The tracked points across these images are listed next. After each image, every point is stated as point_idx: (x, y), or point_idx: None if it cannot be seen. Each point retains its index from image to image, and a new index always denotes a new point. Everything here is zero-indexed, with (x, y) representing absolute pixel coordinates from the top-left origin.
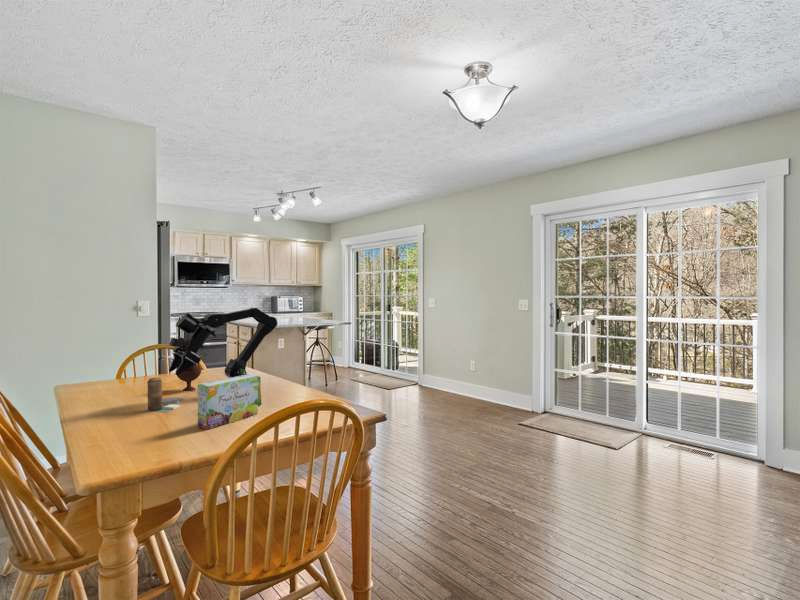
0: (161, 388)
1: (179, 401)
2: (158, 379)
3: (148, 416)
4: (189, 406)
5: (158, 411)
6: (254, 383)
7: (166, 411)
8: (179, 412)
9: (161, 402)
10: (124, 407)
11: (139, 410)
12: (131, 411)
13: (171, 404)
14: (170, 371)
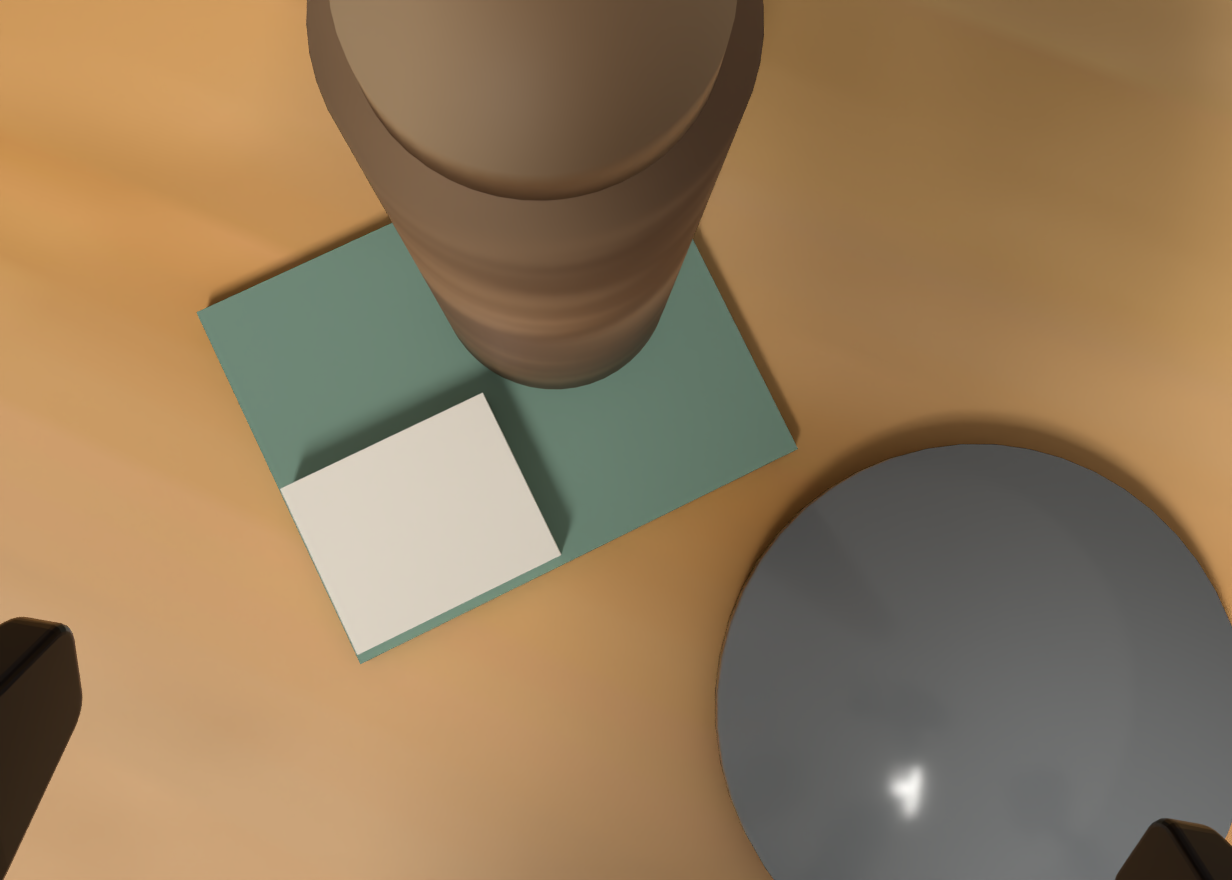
0: (422, 257)
1: (750, 819)
2: (339, 40)
3: (282, 60)
4: (331, 813)
5: (380, 258)
6: None
7: (256, 344)
8: (78, 496)
9: (453, 324)
10: (1213, 53)
11: (800, 126)
12: (841, 20)
13: (531, 560)
14: (1125, 868)
